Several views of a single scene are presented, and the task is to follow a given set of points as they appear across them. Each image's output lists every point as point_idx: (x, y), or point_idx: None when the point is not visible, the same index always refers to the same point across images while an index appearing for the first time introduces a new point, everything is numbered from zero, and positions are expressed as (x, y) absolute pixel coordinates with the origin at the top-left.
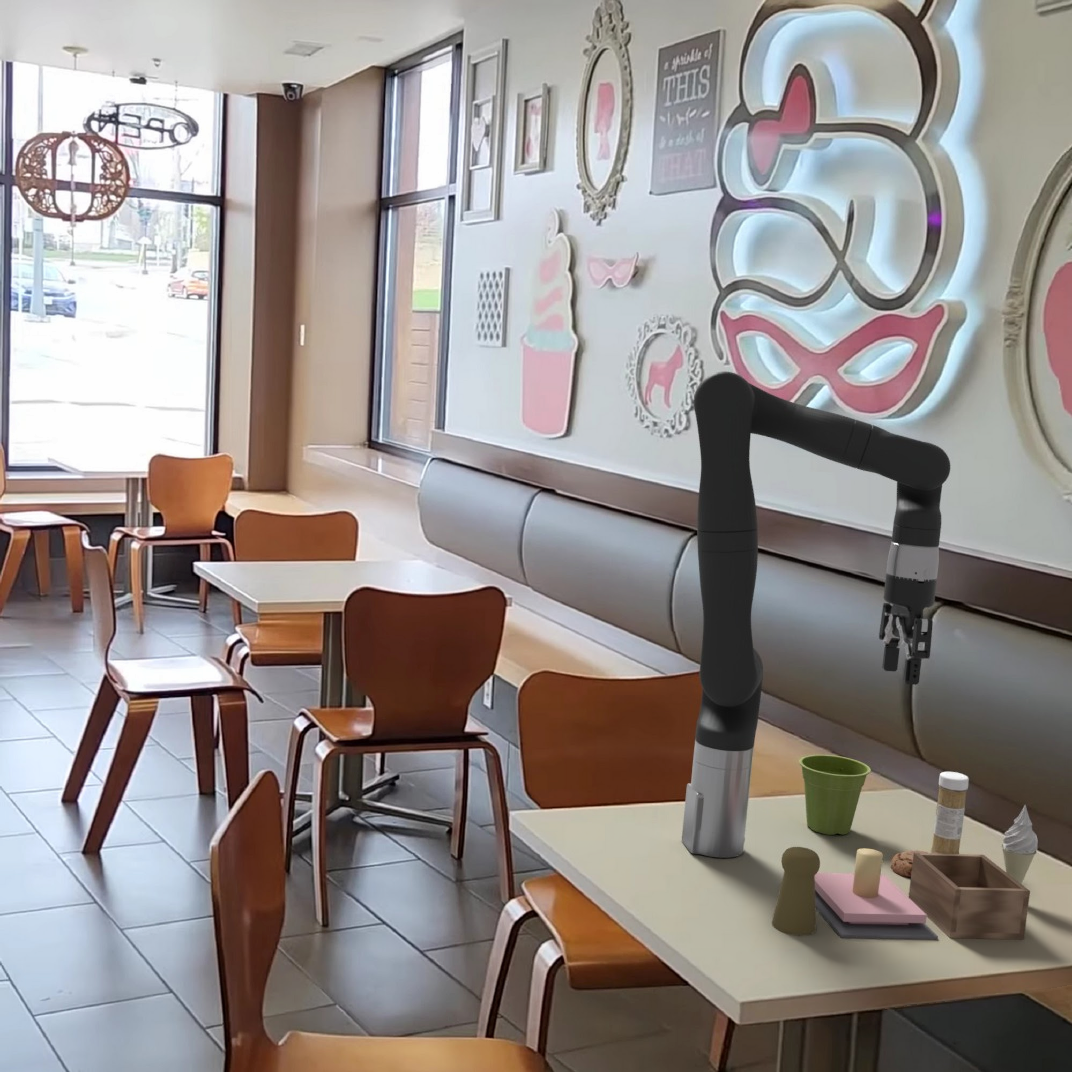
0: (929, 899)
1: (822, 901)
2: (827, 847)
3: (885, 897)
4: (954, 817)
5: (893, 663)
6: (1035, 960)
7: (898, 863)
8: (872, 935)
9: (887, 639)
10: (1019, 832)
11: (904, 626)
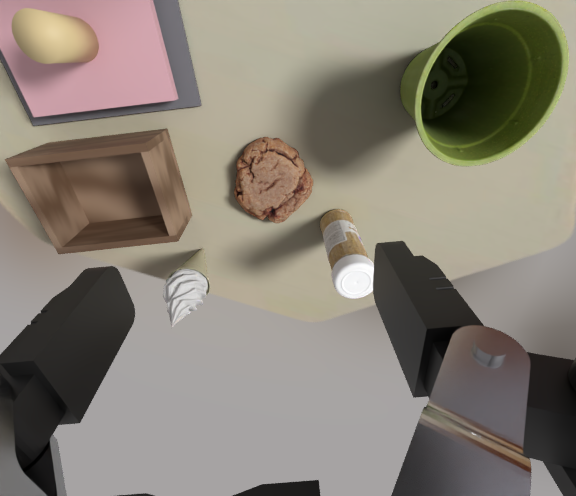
0: (99, 140)
1: None
2: (349, 57)
3: (74, 71)
4: (326, 250)
5: (383, 303)
6: (32, 218)
7: (258, 144)
8: None
9: (439, 391)
10: (168, 295)
11: None
